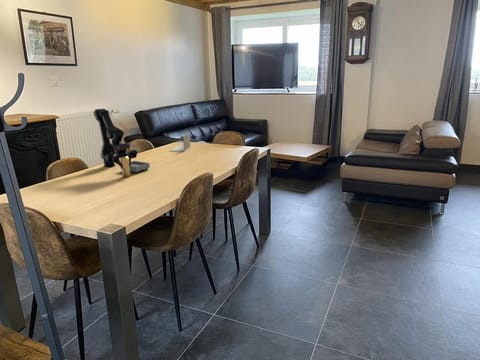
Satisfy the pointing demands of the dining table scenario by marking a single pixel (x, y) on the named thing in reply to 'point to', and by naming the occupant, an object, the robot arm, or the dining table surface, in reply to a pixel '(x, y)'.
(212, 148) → the dining table surface
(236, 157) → the dining table surface
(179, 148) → the laptop
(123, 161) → the gold cylinder
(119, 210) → the dining table surface
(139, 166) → the gray rectangular tray
